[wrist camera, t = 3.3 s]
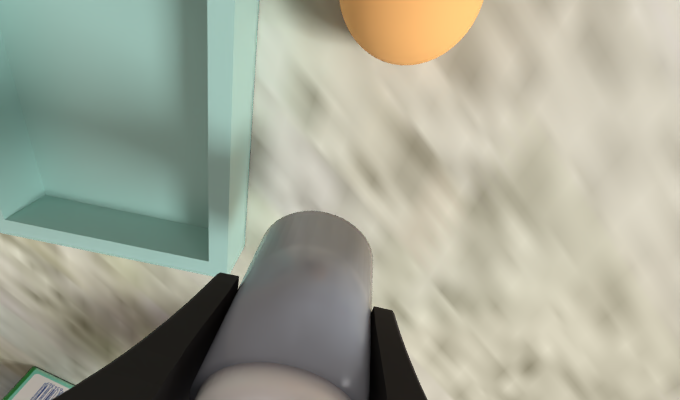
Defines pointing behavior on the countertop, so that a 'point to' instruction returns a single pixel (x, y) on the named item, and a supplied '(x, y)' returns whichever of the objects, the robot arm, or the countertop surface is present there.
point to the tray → (129, 127)
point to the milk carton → (38, 386)
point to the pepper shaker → (297, 318)
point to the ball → (408, 27)
